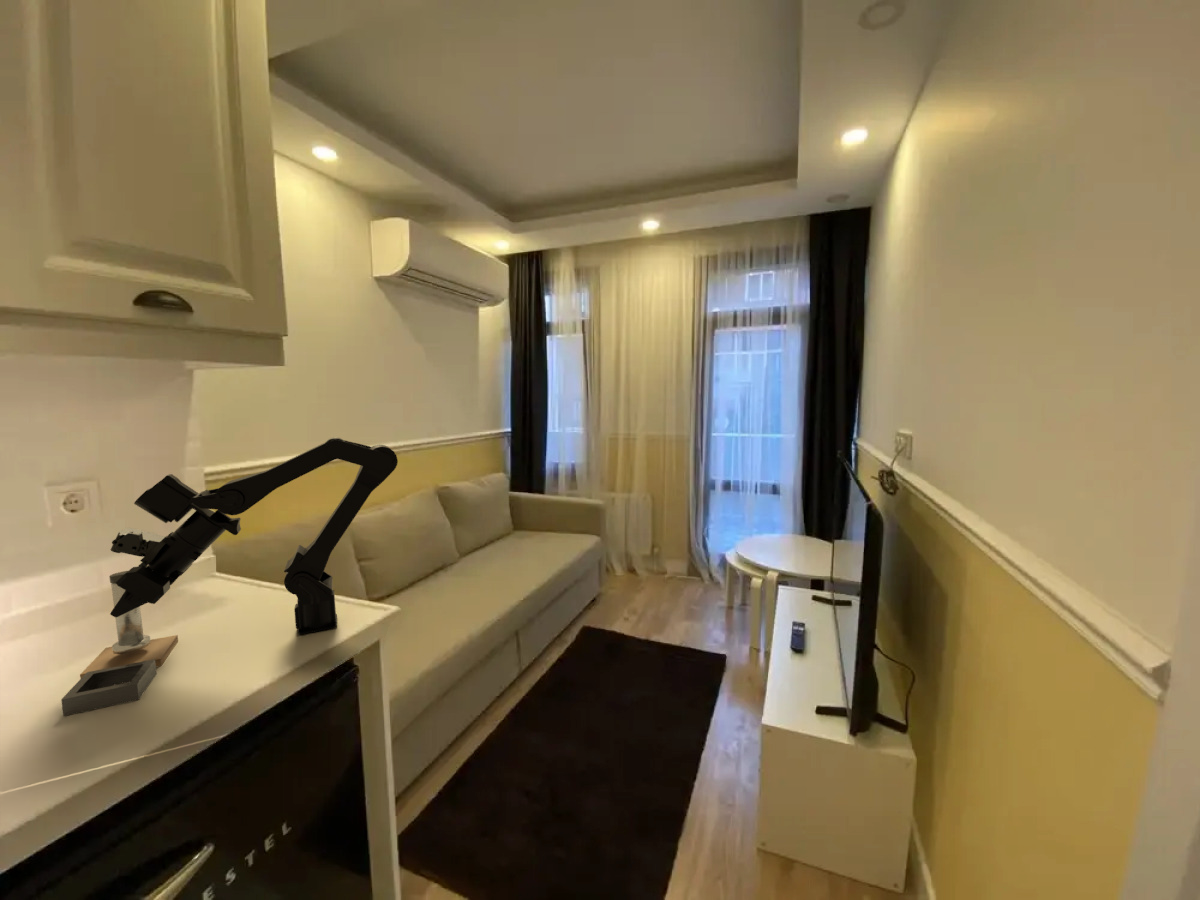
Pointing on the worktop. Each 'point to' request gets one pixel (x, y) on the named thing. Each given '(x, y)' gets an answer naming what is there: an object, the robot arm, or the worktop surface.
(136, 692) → the holder
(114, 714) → the worktop surface
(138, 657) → the walnut pad
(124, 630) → the capped metal cylinder
